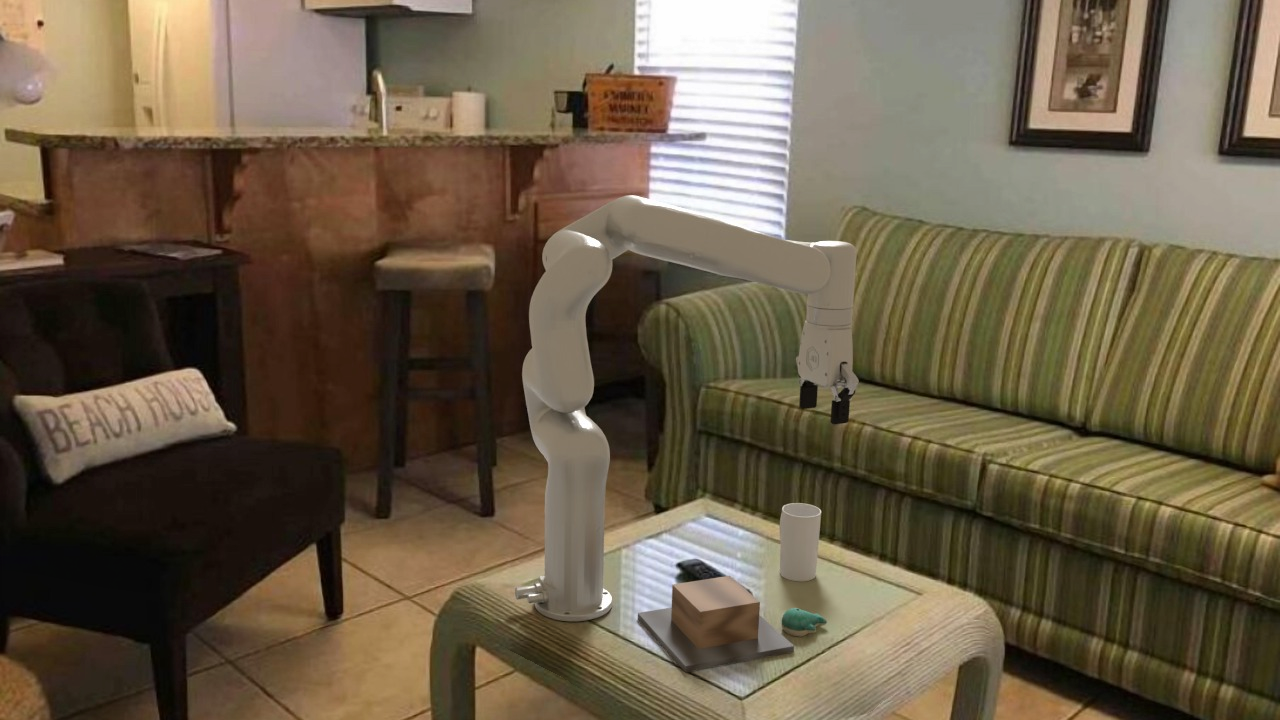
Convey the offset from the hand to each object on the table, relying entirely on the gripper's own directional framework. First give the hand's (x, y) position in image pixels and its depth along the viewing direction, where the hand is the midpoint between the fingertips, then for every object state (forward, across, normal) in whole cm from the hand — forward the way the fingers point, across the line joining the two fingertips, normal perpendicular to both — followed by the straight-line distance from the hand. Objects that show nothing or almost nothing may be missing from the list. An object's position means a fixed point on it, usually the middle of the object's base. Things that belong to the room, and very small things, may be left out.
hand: (823, 415), depth 188 cm
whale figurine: (+29, +17, -13) cm, 36 cm away
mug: (+29, -3, -3) cm, 30 cm away
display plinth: (+29, +14, -27) cm, 42 cm away
